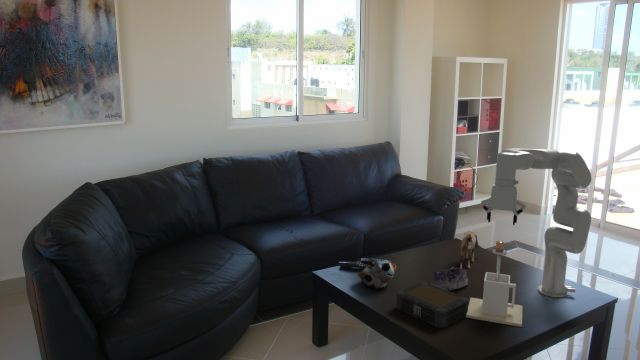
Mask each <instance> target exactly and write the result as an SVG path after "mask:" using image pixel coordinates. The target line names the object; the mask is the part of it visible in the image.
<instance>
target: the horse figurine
mask: <svg viewBox="0 0 640 360" xmlns="http://www.w3.org/2000/svg"><path fill="white" fill-rule="evenodd" d="M474 248H476V249H477V250H478V251H480V250H481V249H482V246H481V245H479V242H478V234H477V233H476V232H474V231H470V230H468V231H465V232H464V233H463V237H462V239H461V244H460V256H459V257H460V258H459V259H460V265H459V268H460V270H461V269H462V268H463V261H464V260H463V259H464V255H465V253H466V257H465V259H467V269H471V264H470V263H471V262H472V263H474V262H475V253H474V252H475V249H474Z"/></svg>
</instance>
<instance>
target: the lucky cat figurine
mask: <svg viewBox="0 0 640 360" xmlns="http://www.w3.org/2000/svg"><path fill="white" fill-rule="evenodd" d="M396 270H397V263H396V262H395V263H392V262H391V261H389V260H387V259H384V260H383V259H382V260H378V261H376V262H374V261H372V262H371V264H370V266H366V267H365V268H364V269H363V270H362V271H361V272H358V273H357V276H358V277H359V278H360V280H361V281H362V283H364V284H365V285H366V286H368V287H370V288H373V289H374V290H378V288H379V289H382V288H383V287H384V288H385V287H386V286H387V285H388V282H389V281H391V279H393V277H394V275H395V272H396ZM384 288H383V289H384Z"/></svg>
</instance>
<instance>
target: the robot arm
mask: <svg viewBox="0 0 640 360" xmlns="http://www.w3.org/2000/svg"><path fill="white" fill-rule="evenodd" d="M495 166H496V167H495V177H494V178H495V179H494V183H493V184H492V187H491V191H490V197H488V198H486V199H483V200H481V202H480V204H481V206H482V208H483V209H484V211H486V220H487V221H488V223H491V219H492V212H491V211H493V210H499V211H507V212H508V211H509V212H512V213H513V218H512V219H513V220H512V225H513V226H515V225H516V224H517V222H518V216H519V215H520V214H521V213H523V211H524V210H525V208H526V205H527V204H524V203H522V202H521V201H519V200H518V199H517V198H518V195H517V194H518V190H517V185H519V180H517V179H516V172H517V170H520V171H527V170H530V169H533V170H535V169H536V170H551V179H552V181H553V183H554V184H555V187H556V188H557V197H556V202H555V206H554V210H553V215H552V220H553V222H554V223H556V224H557V225H560V226H563V227H567V228H571V229H572V230H569V229H567V228H563V227H560V226H551V227H548V228H547V229H546V230H545V232H544V238H543V239H544V240H543V241H544V246H545V247H544V250H545V251H544V262H543V271H542V272H543V273H542V283H541V285H539V286H538V287H537V291H538V292H539V293H540V294H542V295H544V296H546V297H550V298H557V297H558V298H559V297H560V298H564V297H567V296H568V292H569V293H576V288H573V286H569V285H566V274H567V273H566V272H567V265H568V264H567V263H568V254H567V253H570V254H573V255H575V254H576V255H578V254H581V253H582V252H583V251H584V249H585V247H586V244H587V240H588V237H589V234H590V233H589V232H590V230H591V229H590V227H591V225H592V216H591V212H590V211H588V210H586V209H584V208H581V207H577V205H578V201H579V192H578V190H577V189H587V188H588V187H589V186H590V185H591V182H592V173H591V171H590V169H589V167H588V165H587V163H586V161H585V160H584V158H583V156H582V155H581V154H580V153H579V152H576V151H572V150H564V149H557V148H556V149H553V148H552V149H551V148H550V149H545V148H544V149H541V148H540V149H539V148H538V149H535V148H533V149H532V148H505V149H503V150H502V151H500V152H498V153H497V156H496V165H495ZM487 203H489V207H488V206H487V205H486V204H487ZM517 205H518V206H519V207H520V208H519V209H518V210H517V209H516V207H517ZM515 223H516V224H515Z"/></svg>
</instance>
